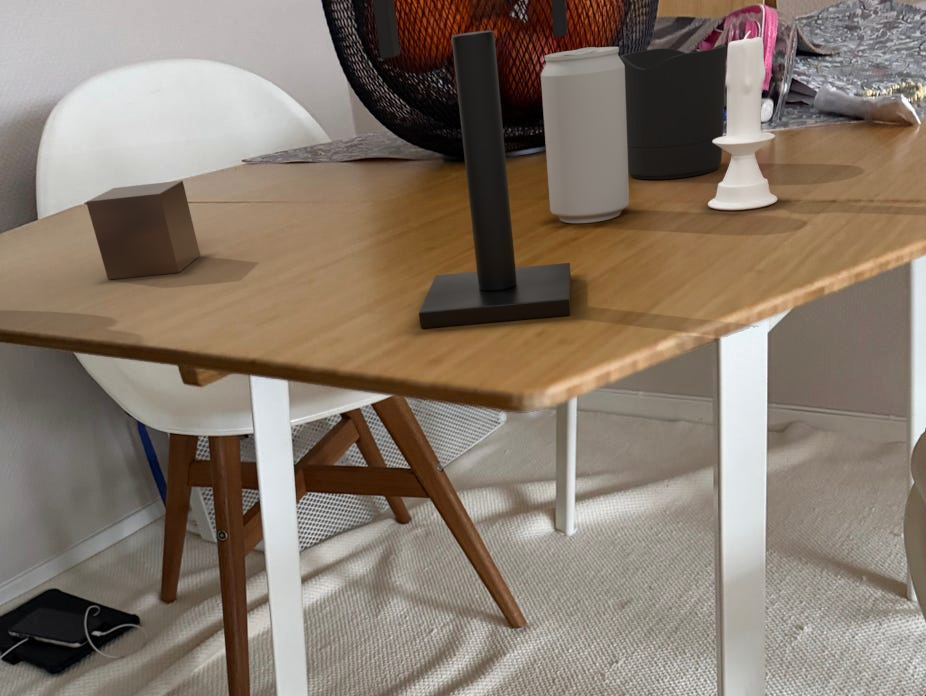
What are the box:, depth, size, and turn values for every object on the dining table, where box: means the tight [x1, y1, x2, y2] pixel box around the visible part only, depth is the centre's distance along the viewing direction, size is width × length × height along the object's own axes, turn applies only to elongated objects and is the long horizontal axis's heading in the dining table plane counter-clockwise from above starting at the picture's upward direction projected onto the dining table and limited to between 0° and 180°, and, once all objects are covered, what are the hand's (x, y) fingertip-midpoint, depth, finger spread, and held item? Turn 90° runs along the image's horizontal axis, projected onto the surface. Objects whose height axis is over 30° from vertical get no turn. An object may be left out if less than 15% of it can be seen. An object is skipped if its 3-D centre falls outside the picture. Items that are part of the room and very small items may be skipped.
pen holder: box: [618, 43, 728, 180], centre depth 99 cm, size 9×9×10 cm
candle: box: [707, 30, 778, 211], centre depth 83 cm, size 5×5×12 cm
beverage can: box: [540, 46, 630, 224], centre depth 86 cm, size 6×6×12 cm
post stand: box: [418, 30, 572, 330], centre depth 65 cm, size 9×9×15 cm
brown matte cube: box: [85, 180, 201, 281], centre depth 89 cm, size 6×6×6 cm
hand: (475, 45), depth 62 cm, fingers closed on ring, 9 cm apart
